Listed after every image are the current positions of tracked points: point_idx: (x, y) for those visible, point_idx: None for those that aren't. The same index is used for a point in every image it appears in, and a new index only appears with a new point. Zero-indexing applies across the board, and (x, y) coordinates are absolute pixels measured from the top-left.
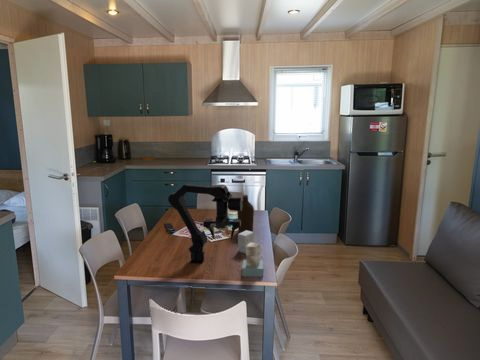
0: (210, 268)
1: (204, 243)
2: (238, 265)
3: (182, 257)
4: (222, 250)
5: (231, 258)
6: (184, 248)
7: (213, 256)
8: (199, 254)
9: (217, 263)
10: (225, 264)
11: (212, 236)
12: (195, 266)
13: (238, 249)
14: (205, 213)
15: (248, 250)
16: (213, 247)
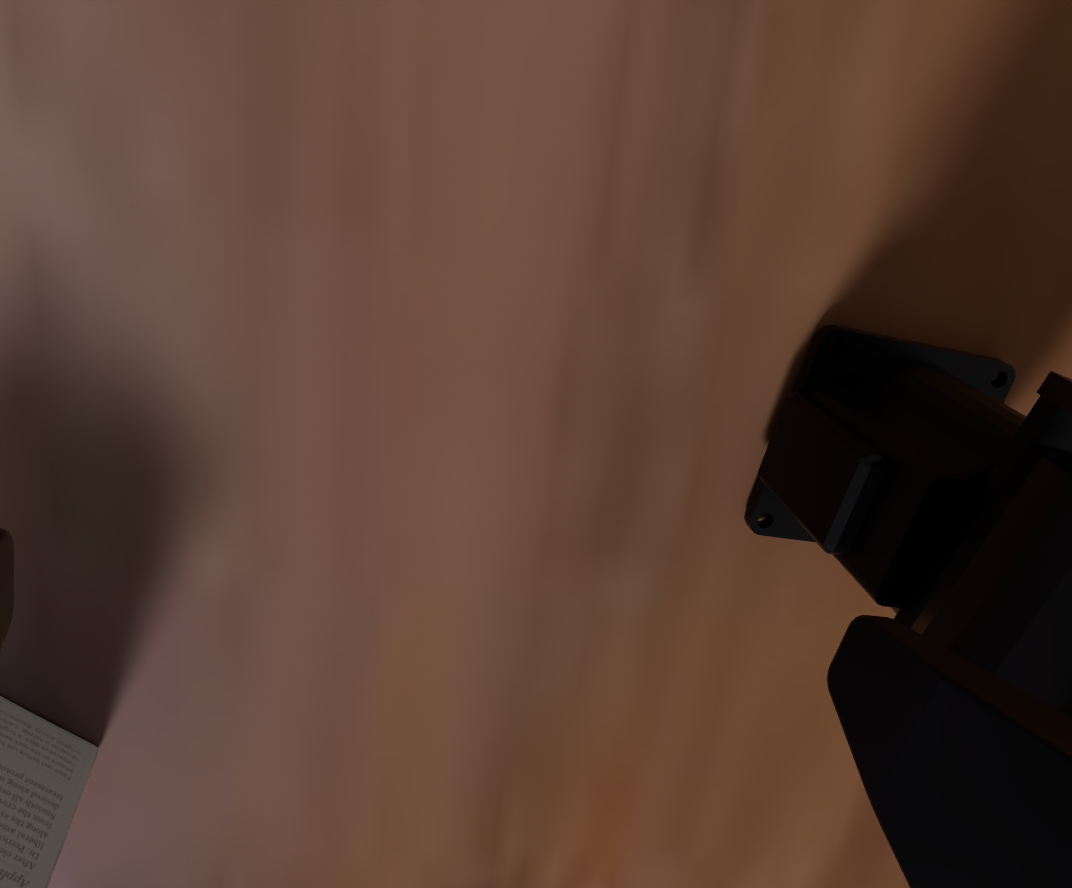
0: (710, 45)
1: (1046, 551)
2: (46, 84)
3: None
4: (401, 779)
5: (233, 470)
6: None
7: (578, 576)
8: (949, 425)
9: (537, 274)
10: (371, 197)
11: (1013, 690)
12: (960, 202)
13: (82, 774)
14: None
15: None
16: (539, 868)
